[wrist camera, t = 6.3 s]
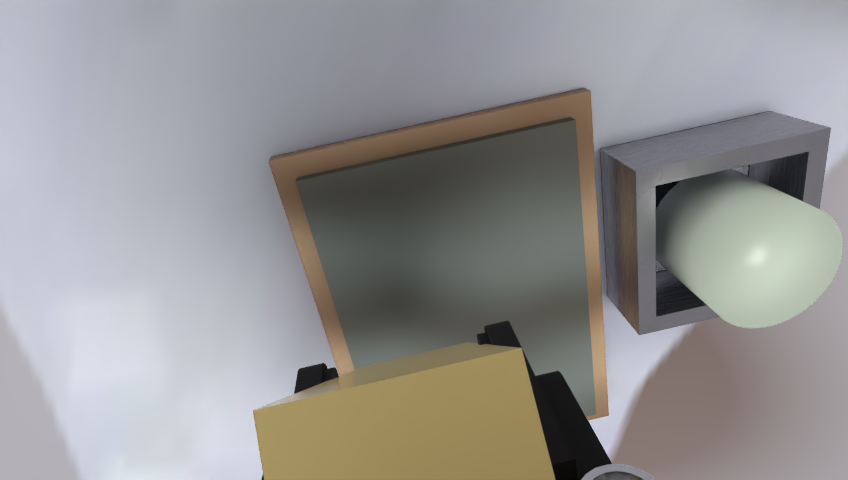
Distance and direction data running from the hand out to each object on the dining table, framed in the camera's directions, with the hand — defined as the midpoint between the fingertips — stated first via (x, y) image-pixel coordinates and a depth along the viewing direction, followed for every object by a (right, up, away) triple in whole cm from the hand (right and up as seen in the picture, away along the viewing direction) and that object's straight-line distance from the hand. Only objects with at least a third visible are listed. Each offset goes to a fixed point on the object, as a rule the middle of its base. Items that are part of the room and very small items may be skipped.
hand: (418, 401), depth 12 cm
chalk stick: (0, -1, +4) cm, 4 cm away
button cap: (+11, +4, +10) cm, 15 cm away
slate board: (+2, +1, +12) cm, 12 cm away
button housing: (+11, +5, +11) cm, 16 cm away
